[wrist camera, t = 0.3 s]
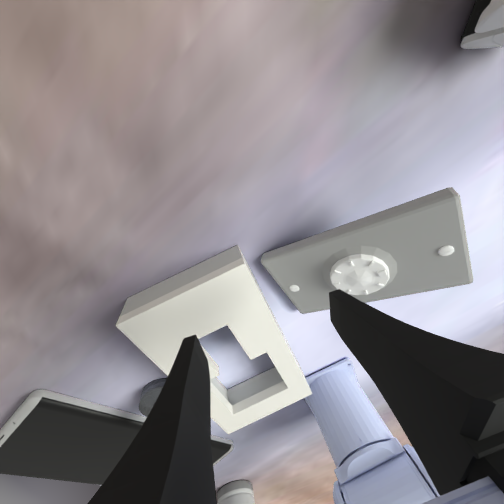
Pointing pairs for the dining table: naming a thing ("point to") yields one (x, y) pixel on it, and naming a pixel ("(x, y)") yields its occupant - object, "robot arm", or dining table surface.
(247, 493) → the travel mug
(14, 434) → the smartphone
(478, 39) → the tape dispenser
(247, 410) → the keyhole board
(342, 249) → the light switch
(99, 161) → the dining table surface
